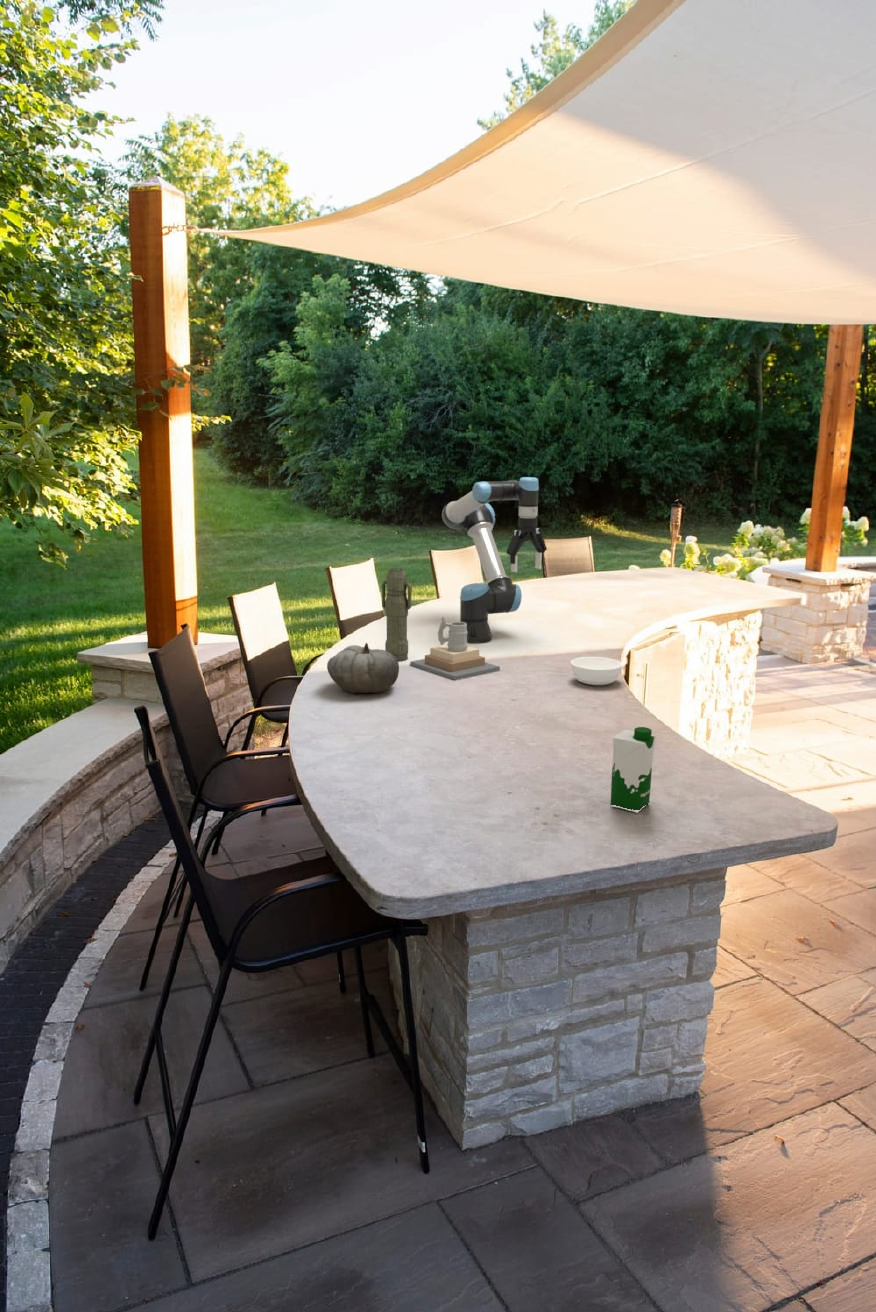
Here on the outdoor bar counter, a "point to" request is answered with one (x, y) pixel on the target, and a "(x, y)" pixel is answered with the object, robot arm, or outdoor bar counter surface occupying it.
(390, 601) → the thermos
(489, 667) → the plinth board
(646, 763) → the milk carton
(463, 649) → the mug
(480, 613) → the robot arm
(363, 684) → the gourd
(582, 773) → the outdoor bar counter surface
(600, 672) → the bowl
